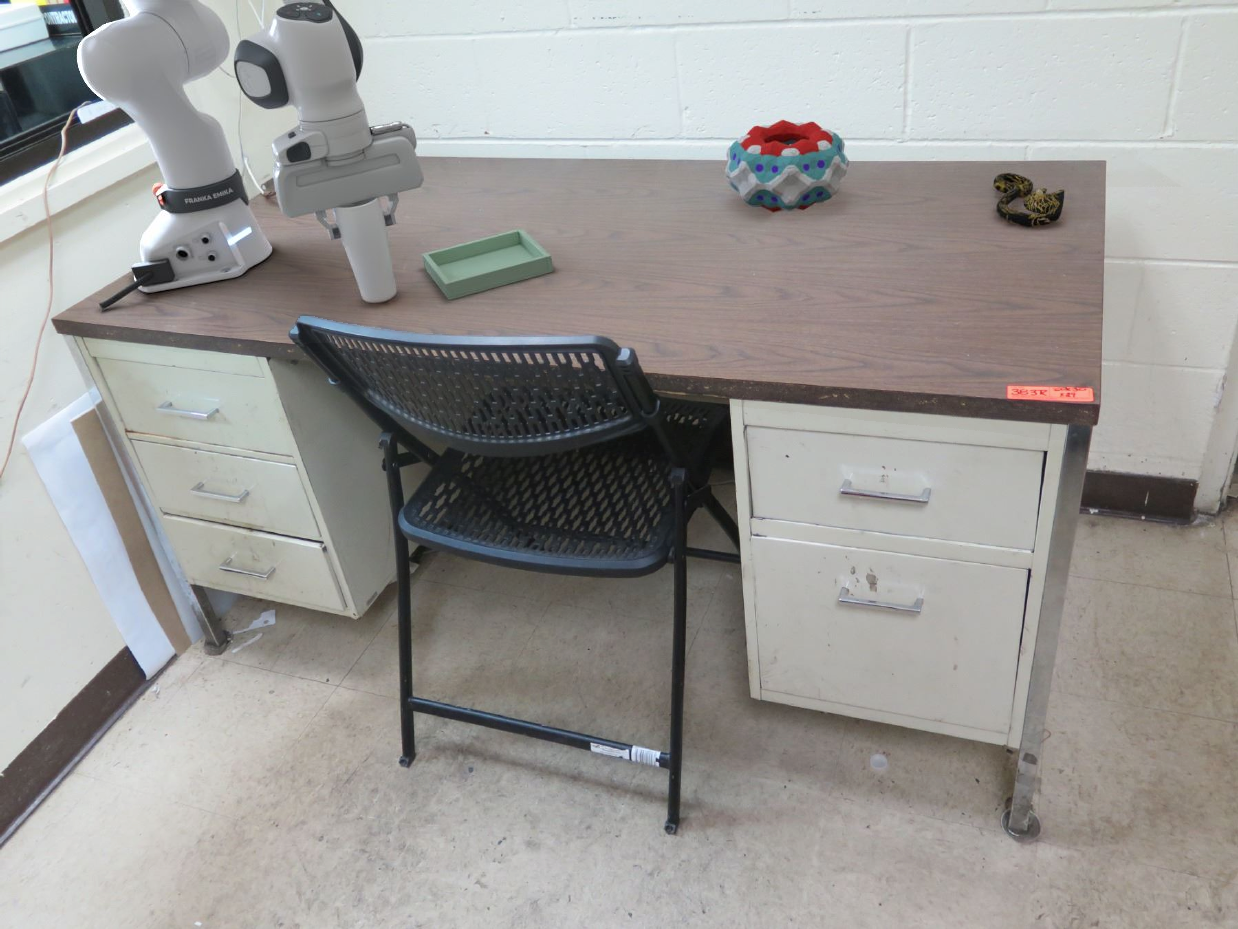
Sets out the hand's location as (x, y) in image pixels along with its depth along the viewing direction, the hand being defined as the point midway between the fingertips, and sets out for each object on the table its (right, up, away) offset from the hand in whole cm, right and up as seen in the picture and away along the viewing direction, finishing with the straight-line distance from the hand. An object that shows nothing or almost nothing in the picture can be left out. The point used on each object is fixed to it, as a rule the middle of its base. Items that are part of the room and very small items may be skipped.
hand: (362, 231), depth 141 cm
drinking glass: (+1, -9, +6) cm, 10 cm away
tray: (+17, -3, +11) cm, 20 cm away
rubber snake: (+99, +6, +10) cm, 100 cm away
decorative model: (+65, +10, +22) cm, 69 cm away
